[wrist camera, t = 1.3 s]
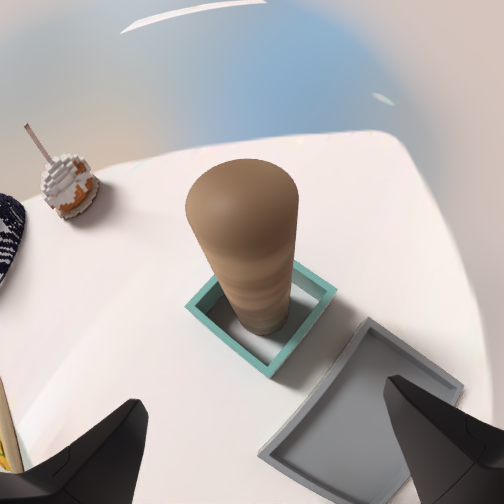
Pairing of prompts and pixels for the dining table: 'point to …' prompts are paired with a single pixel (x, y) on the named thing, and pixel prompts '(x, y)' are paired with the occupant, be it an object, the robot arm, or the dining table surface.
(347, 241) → the dining table surface
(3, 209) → the decorative bowl
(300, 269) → the teal square frame
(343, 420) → the tray
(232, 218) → the brown tall rounded cylinder
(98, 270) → the dining table surface
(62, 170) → the decorative ornament
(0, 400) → the pizza slice
